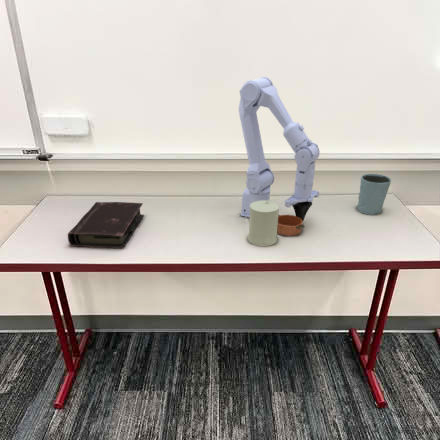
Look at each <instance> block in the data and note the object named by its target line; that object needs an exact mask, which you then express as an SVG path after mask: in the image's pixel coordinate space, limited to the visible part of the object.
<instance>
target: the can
mask: <svg viewBox="0 0 440 440" xmlns="http://www.w3.org/2000/svg"><path fill="white" fill-rule="evenodd" d="M279 213H280V205H279V204H278V203H277V202H275V201H273V200H272V201H271V200H269V201H266V200H261V201H255V202H253V203H251V204H250V217H249V225H248V229H249V230H248V237H247V239H248V242H249V243H250V244H252V245H254V246H258V247H268V246H272V245H274V244H276V243H277V241H278V238H277V236H278V234H277V224H278V214H279Z"/></svg>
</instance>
